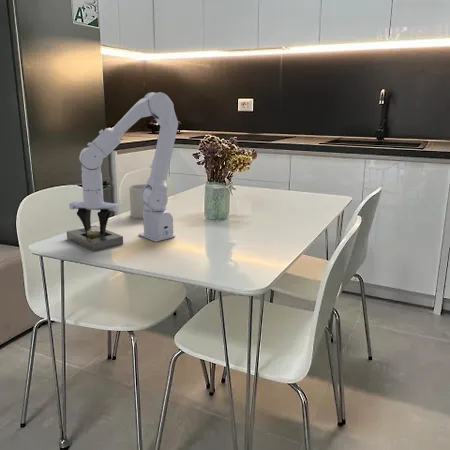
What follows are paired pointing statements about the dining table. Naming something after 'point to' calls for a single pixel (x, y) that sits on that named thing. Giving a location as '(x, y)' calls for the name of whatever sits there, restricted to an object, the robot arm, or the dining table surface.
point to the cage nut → (94, 233)
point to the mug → (136, 201)
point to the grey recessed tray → (94, 244)
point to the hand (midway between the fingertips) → (95, 233)
